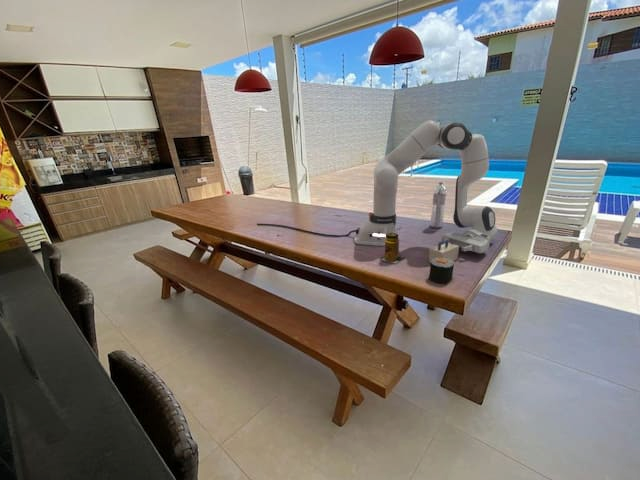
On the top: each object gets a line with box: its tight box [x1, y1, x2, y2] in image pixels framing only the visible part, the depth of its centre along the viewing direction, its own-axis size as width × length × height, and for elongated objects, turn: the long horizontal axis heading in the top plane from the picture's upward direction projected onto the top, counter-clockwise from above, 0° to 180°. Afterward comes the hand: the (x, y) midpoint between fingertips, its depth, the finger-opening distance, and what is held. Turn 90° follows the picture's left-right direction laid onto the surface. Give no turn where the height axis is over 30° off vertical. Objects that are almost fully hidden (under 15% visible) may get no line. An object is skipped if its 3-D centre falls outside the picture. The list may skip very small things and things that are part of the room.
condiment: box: [380, 232, 404, 264], centre depth 137 cm, size 7×8×12 cm
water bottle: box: [429, 181, 447, 229], centre depth 171 cm, size 7×7×25 cm
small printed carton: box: [428, 240, 461, 264], centre depth 133 cm, size 12×6×10 cm, turn 125°
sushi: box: [428, 258, 455, 285], centre depth 119 cm, size 8×8×8 cm
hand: (453, 246), depth 136 cm, fingers open, 8 cm apart
